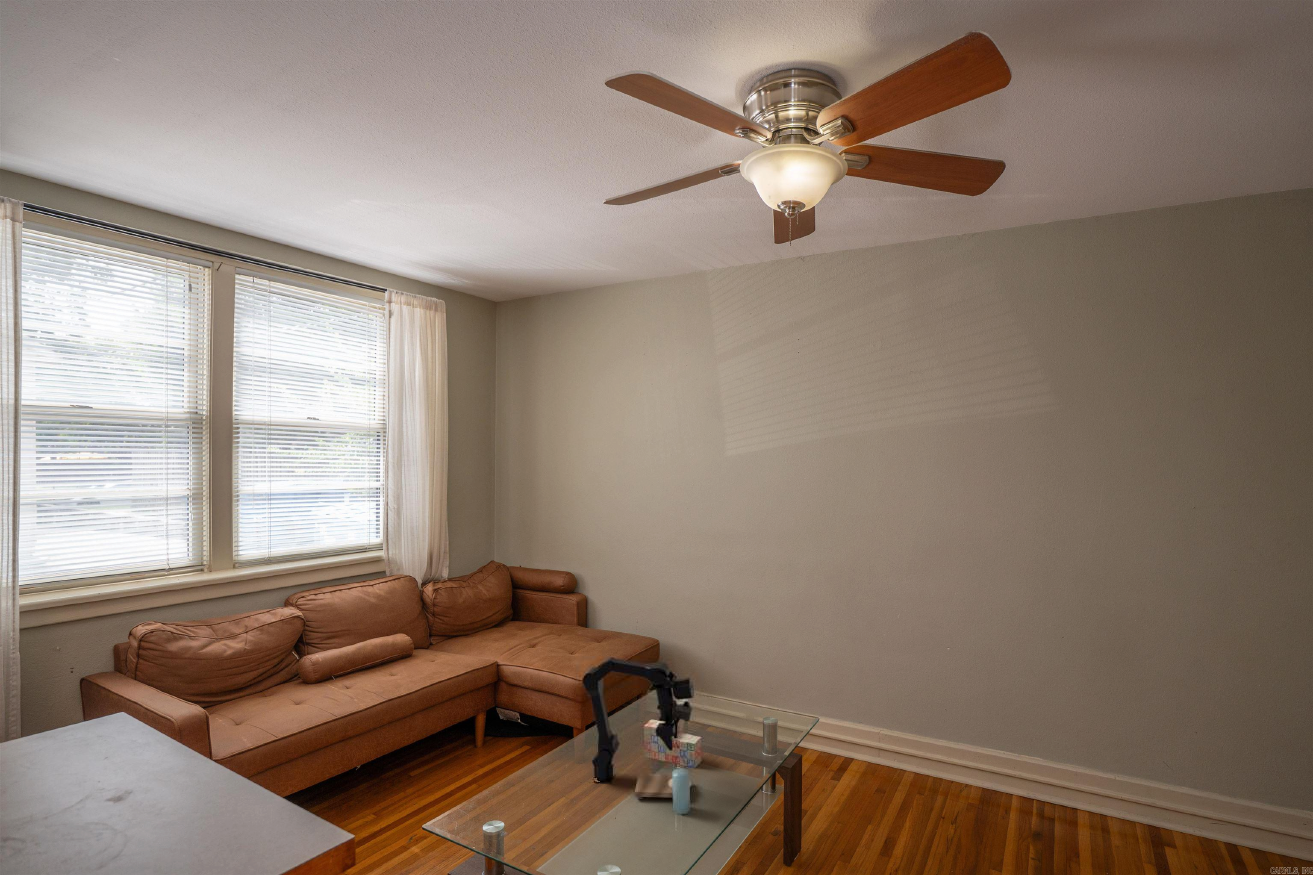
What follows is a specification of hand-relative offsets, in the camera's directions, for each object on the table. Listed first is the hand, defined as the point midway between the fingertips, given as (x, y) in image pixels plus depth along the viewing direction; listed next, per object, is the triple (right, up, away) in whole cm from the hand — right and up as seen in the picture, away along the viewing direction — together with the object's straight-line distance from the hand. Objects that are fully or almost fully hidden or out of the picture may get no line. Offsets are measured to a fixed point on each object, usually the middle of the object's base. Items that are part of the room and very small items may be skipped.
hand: (673, 744), depth 245 cm
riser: (-4, -15, -4) cm, 16 cm away
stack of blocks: (0, -15, +20) cm, 25 cm away
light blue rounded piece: (+2, -15, -15) cm, 22 cm away
